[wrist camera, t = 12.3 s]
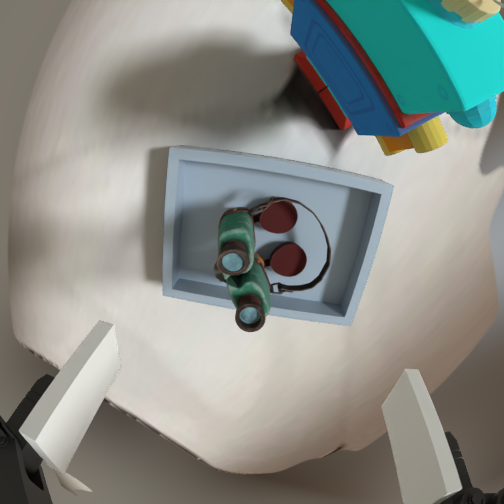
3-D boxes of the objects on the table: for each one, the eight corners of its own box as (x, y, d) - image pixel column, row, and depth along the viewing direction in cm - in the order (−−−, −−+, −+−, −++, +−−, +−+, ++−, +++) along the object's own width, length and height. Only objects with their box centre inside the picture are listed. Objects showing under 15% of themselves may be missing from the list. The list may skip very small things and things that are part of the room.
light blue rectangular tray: (181, 145, 27) (169, 147, 24) (381, 179, 27) (393, 186, 24) (172, 279, 33) (162, 295, 30) (344, 308, 33) (350, 326, 29)
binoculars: (356, 319, 21) (226, 350, 21) (324, 263, 30) (232, 285, 31) (342, 201, 17) (185, 240, 18) (308, 179, 27) (207, 204, 28)
